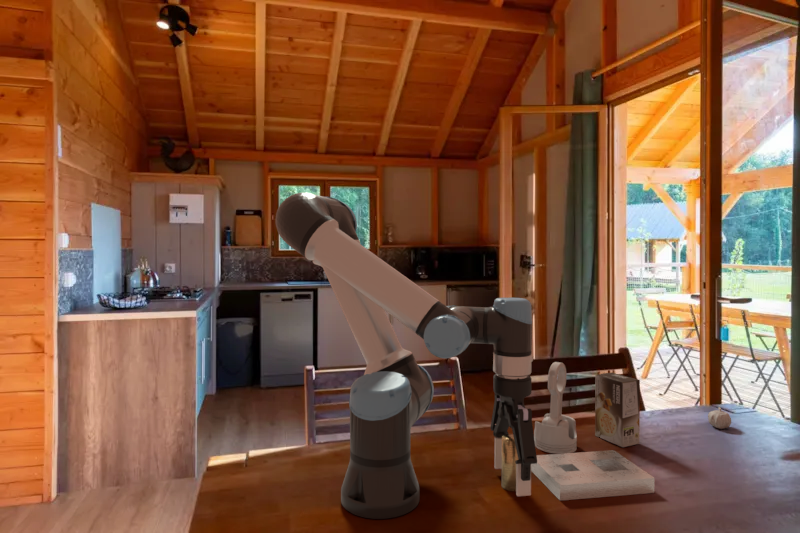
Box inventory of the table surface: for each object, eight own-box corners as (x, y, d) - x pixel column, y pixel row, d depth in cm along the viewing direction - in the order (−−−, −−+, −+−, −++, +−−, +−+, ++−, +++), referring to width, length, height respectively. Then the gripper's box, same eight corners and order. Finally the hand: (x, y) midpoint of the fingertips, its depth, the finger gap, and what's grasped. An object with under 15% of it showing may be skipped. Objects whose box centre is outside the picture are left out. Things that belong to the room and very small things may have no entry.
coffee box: (640, 443, 125) (641, 379, 124) (622, 448, 122) (623, 382, 122) (611, 431, 133) (612, 371, 133) (593, 435, 131) (594, 374, 130)
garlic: (712, 422, 141) (712, 403, 141) (734, 427, 137) (734, 408, 137) (704, 427, 137) (704, 408, 137) (726, 432, 133) (727, 413, 133)
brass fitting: (505, 491, 100) (506, 442, 100) (498, 482, 104) (498, 434, 104) (524, 490, 101) (525, 441, 100) (517, 481, 105) (517, 433, 104)
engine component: (527, 447, 123) (568, 457, 117) (528, 364, 122) (569, 370, 116) (544, 434, 131) (583, 443, 125) (545, 356, 131) (584, 361, 125)
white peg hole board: (559, 500, 97) (560, 485, 96) (529, 469, 110) (529, 455, 110) (654, 492, 100) (654, 477, 100) (613, 463, 113) (613, 450, 113)
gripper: (557, 389, 90) (555, 508, 91) (508, 361, 114) (507, 455, 115) (517, 391, 89) (516, 512, 90) (476, 362, 113) (475, 458, 113)
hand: (511, 480), depth 102 cm, fingers open, 11 cm apart
